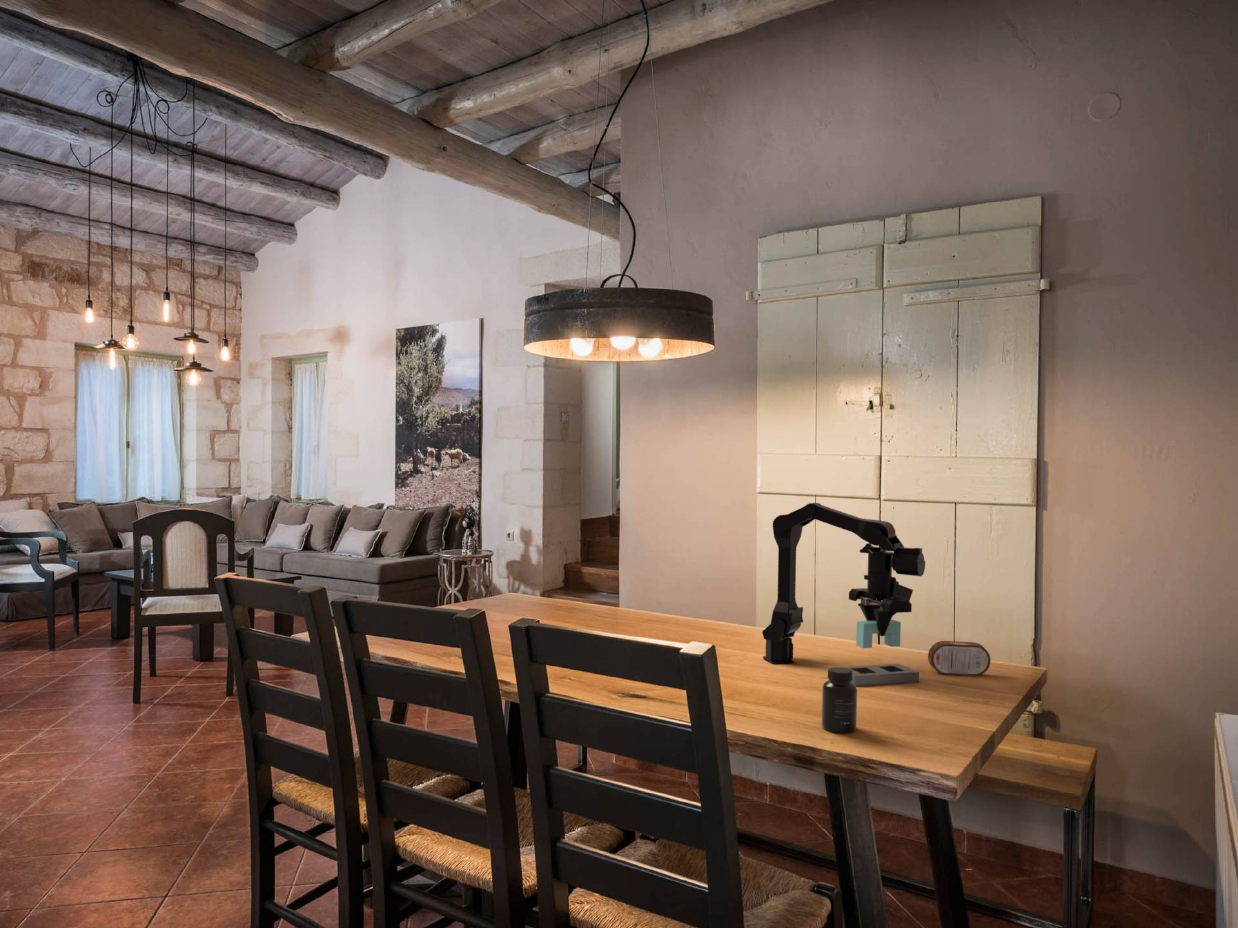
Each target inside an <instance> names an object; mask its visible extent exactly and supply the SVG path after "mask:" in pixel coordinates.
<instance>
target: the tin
mask: <svg viewBox="0 0 1238 928" xmlns="http://www.w3.org/2000/svg"><path fill="white" fill-rule="evenodd" d="M927 659H928V660H927V661H928V663H929V665H930V666H931V668H933V669H934V670H935V671H936V672H937V673H939V674H941V675H948V676H965V677H966V676H967V677H968V676H969V677H978V676H981V675H983V674H985V673H986V672H987V671H988V670H989V668H990V666H991V655H990V653H989V652H988V650H987V649H986V648H985V647H984V646H983V644H981V643H978V642H975V641H974V642H973V641H955V640H940V641H937V642H935V643H934V644H933V645H931V647H930V648H929V651H928V654H927Z"/></svg>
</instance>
